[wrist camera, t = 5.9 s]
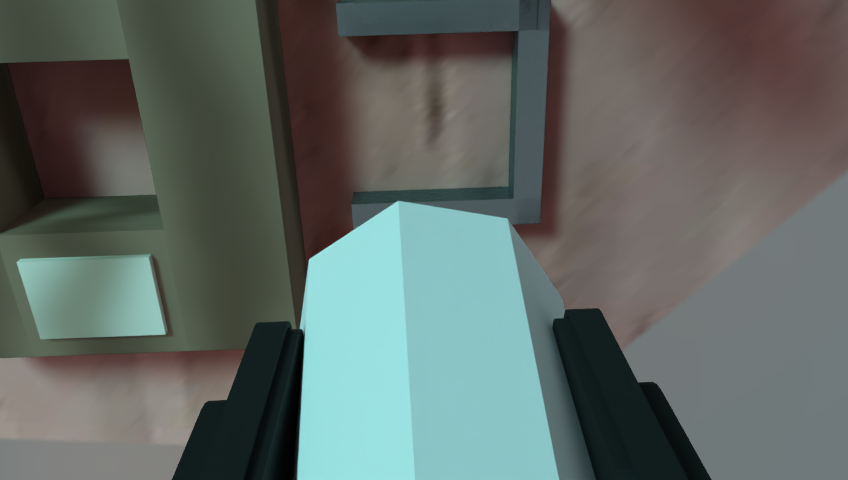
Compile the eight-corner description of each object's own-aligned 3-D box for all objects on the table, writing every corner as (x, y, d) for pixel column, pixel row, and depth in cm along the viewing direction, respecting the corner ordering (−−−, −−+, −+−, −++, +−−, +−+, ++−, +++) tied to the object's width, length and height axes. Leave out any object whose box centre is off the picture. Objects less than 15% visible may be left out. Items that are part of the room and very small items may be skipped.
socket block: (263, -120, 25) (236, -129, 21) (309, 300, 33) (297, 350, 29) (-172, -108, 25) (-279, -115, 21) (-23, 312, 32) (-82, 365, 29)
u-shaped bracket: (543, -7, 27) (550, -4, 26) (533, 210, 31) (539, 223, 30) (339, 0, 27) (335, 3, 26) (355, 216, 31) (353, 229, 30)
